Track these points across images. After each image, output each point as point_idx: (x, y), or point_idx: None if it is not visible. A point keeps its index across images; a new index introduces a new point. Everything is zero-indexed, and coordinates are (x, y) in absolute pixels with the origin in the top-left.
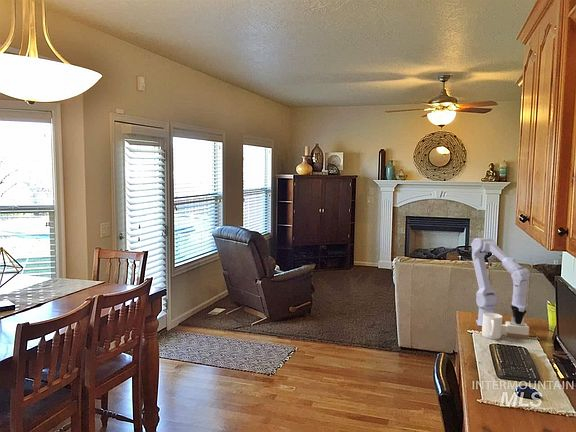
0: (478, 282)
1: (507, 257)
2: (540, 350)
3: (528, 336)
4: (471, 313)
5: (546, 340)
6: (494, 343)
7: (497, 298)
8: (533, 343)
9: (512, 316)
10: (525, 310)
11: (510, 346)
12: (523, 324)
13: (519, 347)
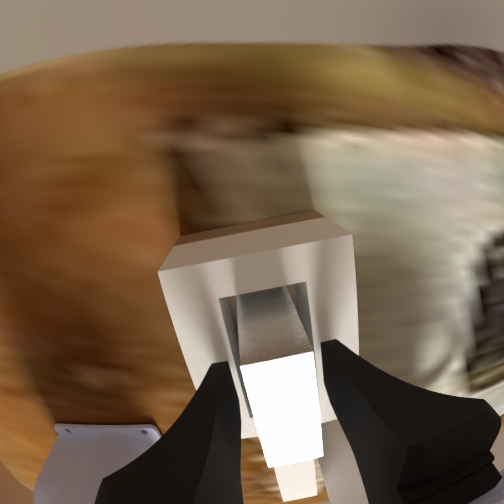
0: None
1: None
2: (498, 153)
3: (322, 216)
4: (9, 464)
5: (257, 65)
6: (461, 381)
7: None
8: (399, 177)
9: (287, 460)
10: (454, 443)
11: (487, 312)
12: (293, 307)
13: (492, 269)
